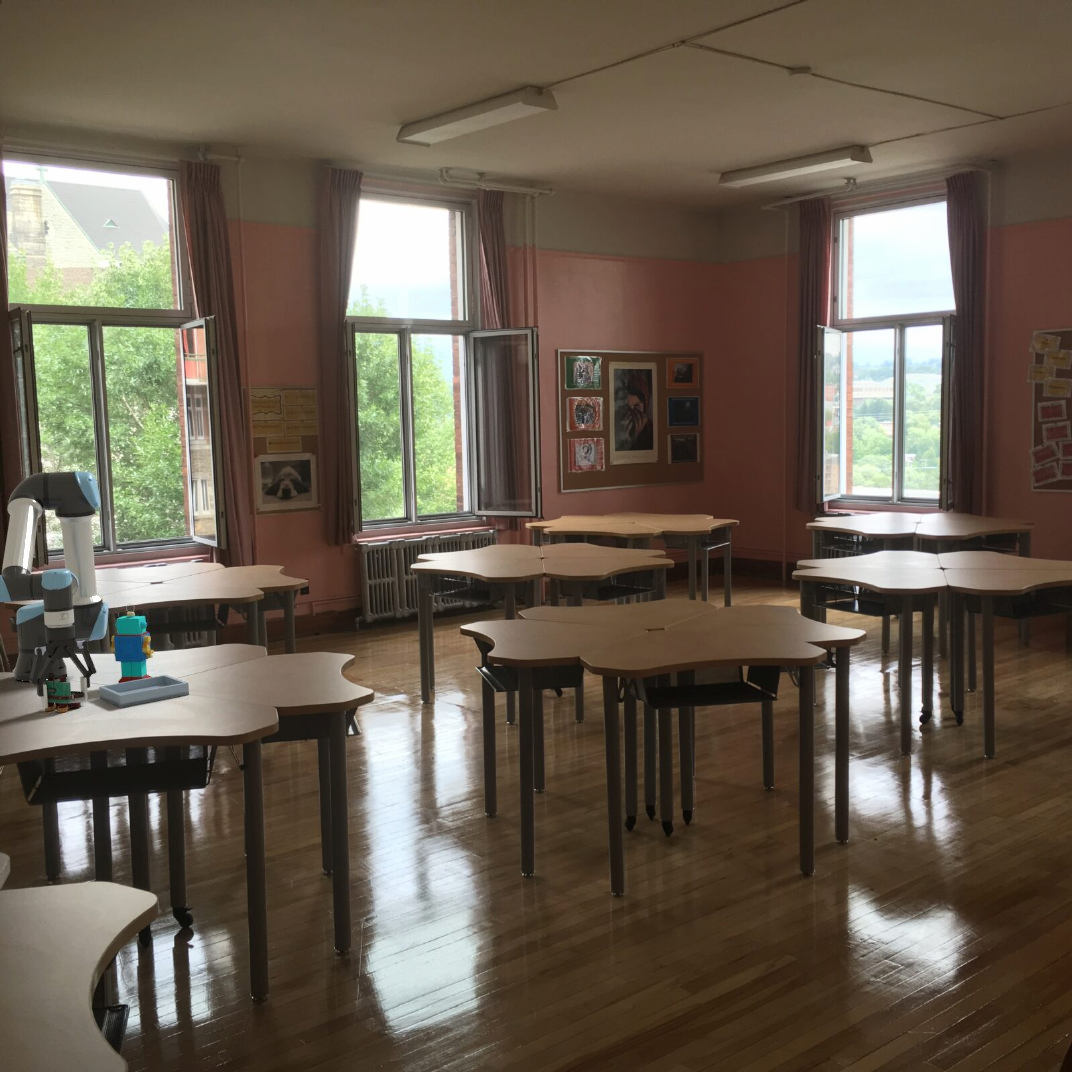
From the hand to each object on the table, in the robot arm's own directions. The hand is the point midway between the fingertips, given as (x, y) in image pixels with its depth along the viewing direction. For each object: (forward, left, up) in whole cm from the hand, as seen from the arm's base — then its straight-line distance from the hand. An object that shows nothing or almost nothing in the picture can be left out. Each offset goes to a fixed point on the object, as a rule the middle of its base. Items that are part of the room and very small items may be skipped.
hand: (65, 703), depth 302 cm
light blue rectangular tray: (+4, +21, -1) cm, 21 cm away
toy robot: (-12, +25, -2) cm, 28 cm away
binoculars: (0, 0, -2) cm, 2 cm away
